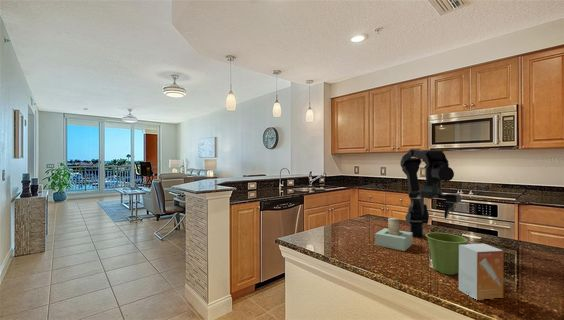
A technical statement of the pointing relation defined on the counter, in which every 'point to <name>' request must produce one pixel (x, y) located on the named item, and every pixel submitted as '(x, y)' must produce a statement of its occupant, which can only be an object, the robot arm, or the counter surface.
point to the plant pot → (445, 251)
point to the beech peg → (393, 226)
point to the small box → (481, 271)
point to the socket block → (394, 239)
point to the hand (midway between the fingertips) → (433, 216)
